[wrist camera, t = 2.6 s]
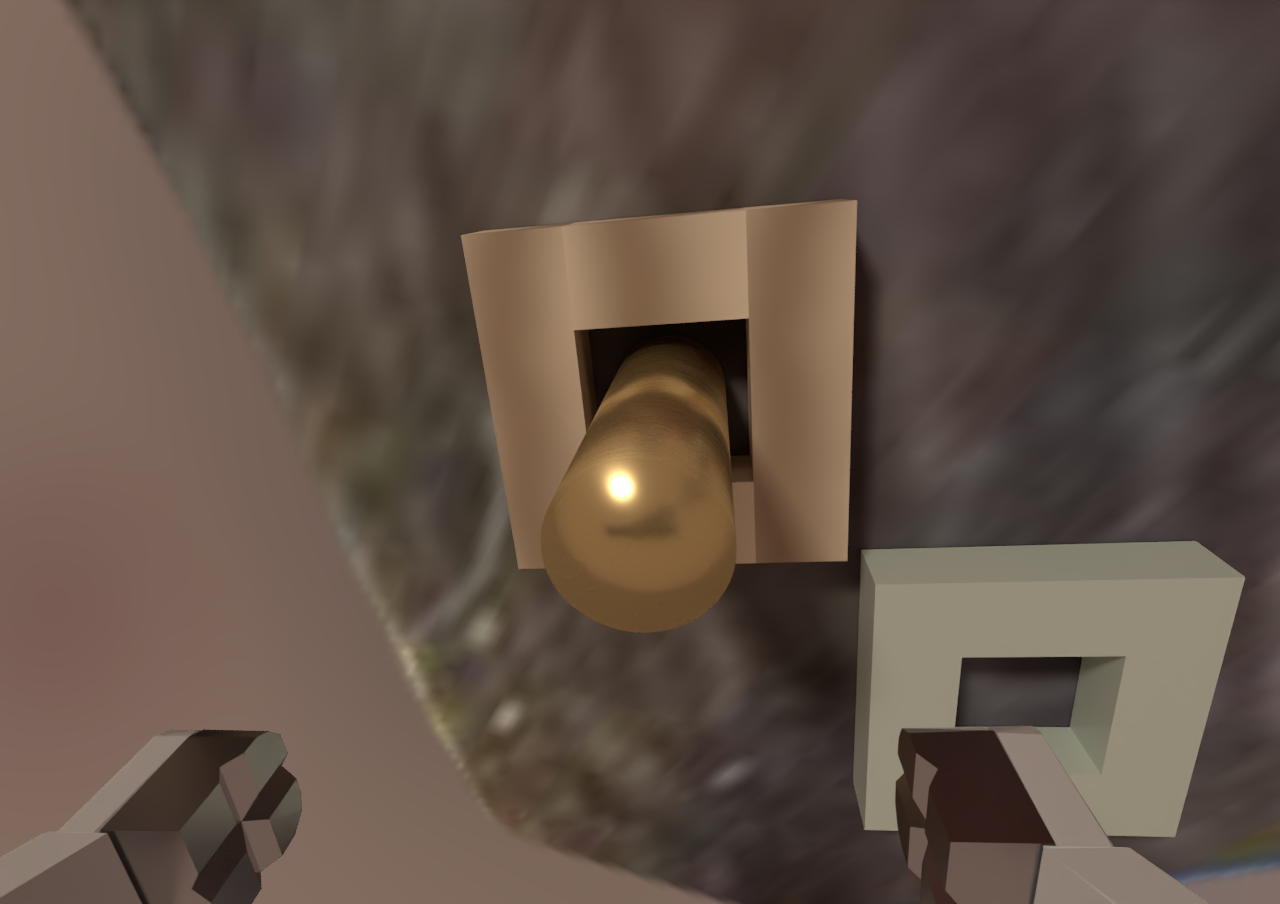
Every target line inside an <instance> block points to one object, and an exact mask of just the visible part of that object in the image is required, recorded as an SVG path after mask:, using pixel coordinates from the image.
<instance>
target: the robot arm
mask: <svg viewBox="0 0 1280 904" xmlns="http://www.w3.org/2000/svg"><path fill="white" fill-rule="evenodd" d="M287 754H288V752H287V750H286V747H285V745H284V743H283V740H282V738H281V735H280V734H277V733H274V732H270V731H242V730H168V731H166V732H163V733H161V734H159V735H156V736H154V737H153V738H152V739H151V741H149V742H148V743H147V744H146V745H145V747H143V748H142V749H141V750H140V751H139V752H138V753H137V754H136V755H135V756H134V757H133V758H132V759H131V760H130V761H129V762H128V763H127V764H126V765H125V766H124V767H123V768H122V769H121V770H120V771H119V772H118V773H117V774H116V775H115V776H114V777H113V778H112V779H111V780H110V781H109V782H108V783H107V784H106V785H105V786H104V787H102V789H100V790H99V792H97V793H96V794H95V795H94V796H93V797H92V798H91V799H90V800H89V801H88V802H87V803H86V804H85V805H84V806H83V807H82V808H81V809H80V810H79V811H78V812H77V813H76V814H75V815H74V816H73V817H72V818H71V819H70V820H69V821H68V822H67V823H66V824H65V825H64V826H63V827H62V828H61V829H60V830H59V831H58V832H45V833H43V834H41V835H40V836H38V837H36V838H34V839H32V840H31V841H29V842H27V843H25V844H23V845H22V846H20V847H18V848H16V849H14V850H13V851H11V852H9V853H7V854H5V855H4V856H2V857H0V904H252V903H253V901H254V899H255V898H256V896H257V895H258V893H259V892H260V890H261V871H263V870H264V869H265V868H267V867H268V866H269V865H271V864H272V863H273V862H275V861H276V860H277V859H279V858H280V857H281V856H282V855H283V854H284V852H285V850H286V849H287V847H288V845H289V844H290V842H291V840H292V839H293V837H294V835H295V833H296V829H297V826H298V822H299V819H300V815H301V811H302V800H301V791H300V787H299V784H298V781H297V779H296V778H295V777H294V776H293V775H292V774H291V773H289V772H288V771H287V770H286V769H285V768H284V767H282V764H283V762H284V760H285V758H286V756H287ZM898 756H899V759H900V762H901V765H902V768H903V771H904V774H903V775H902V776H901V777H900V778H899V779H898V780H897V781H896V791H895V806H896V816H897V827H898V831H899V836H900V841H901V845H902V849H903V852H904V856H905V859H906V863H907V866H908V868H909V869H910V870H912V871H913V872H914V873H915V874H916V875H917V876H918V877H919V878H920V879H921V885H920V898H919V904H1210V903H1209V902H1207V901H1206V900H1204V899H1203V898H1201V897H1200V896H1198V895H1197V894H1196V893H1194V892H1193V891H1191V890H1190V889H1188V888H1187V887H1185V886H1184V885H1183V884H1181V883H1180V882H1178V881H1177V880H1175V879H1174V878H1173V877H1171V876H1170V875H1168V874H1167V873H1165V872H1164V871H1162V870H1161V869H1160V868H1158V867H1157V866H1155V865H1154V864H1152V863H1151V862H1149V861H1148V860H1147V859H1145V858H1144V857H1142V856H1141V855H1139V854H1138V853H1136V852H1135V851H1134V850H1132V849H1131V848H1126V847H1114V846H1113V844H1112V843H1111V841H1110V840H1109V838H1108V836H1107V835H1106V833H1105V832H1104V830H1103V829H1102V827H1101V826H1100V824H1099V822H1098V821H1097V819H1096V818H1095V816H1094V815H1093V813H1092V811H1091V810H1090V808H1089V807H1088V805H1087V804H1086V802H1085V801H1084V799H1083V797H1082V796H1081V794H1080V793H1079V791H1078V790H1077V788H1076V786H1075V785H1074V783H1073V782H1072V780H1071V779H1070V777H1069V776H1068V774H1067V772H1066V771H1065V769H1064V768H1063V766H1062V765H1061V763H1060V761H1059V760H1058V758H1057V757H1056V755H1055V754H1054V752H1053V750H1052V749H1051V747H1050V746H1049V744H1048V743H1047V741H1046V740H1045V738H1044V736H1043V735H1042V733H1041V732H1040V731H1039V730H1037V729H1036V728H1034V727H1033V726H999V727H988V728H984V727H958V728H902V729H901V732H900V735H899V740H898Z"/></svg>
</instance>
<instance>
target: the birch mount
mask: <svg viewBox="0 0 1280 904" xmlns="http://www.w3.org/2000/svg"><path fill="white" fill-rule="evenodd" d="M856 224H857V201H856V200H846V199H837V200H825V201H814V202H803V203H791V204H780V205H769V206H757V207H746V208H735V209H723V210H712V211H701V212H689V213H678V214H667V215H655V216H644V217H633V218H621V219H610V220H599V221H587V222H576V223H565V224H553V225H542V226H531V227H519V228H508V229H497V230H486V231H480V232H475V233H470V234H465V235H461V238H462V244H463V249H464V255H465V261H466V267H467V273H468V278H469V284H470V290H471V296H472V302H473V307H474V313H475V319H476V325H477V330H478V336H479V342H480V348H481V354H482V359H483V365H484V371H485V377H486V382H487V388H488V394H489V400H490V406H491V411H492V417H493V423H494V429H495V434H496V440H497V446H498V452H499V458H500V463H501V469H502V475H503V481H504V487H505V492H506V498H507V504H508V510H509V515H510V521H511V527H512V533H513V539H514V544H515V550H516V556H517V562H518V567H519V569H537V568H545V565H544V562H543V558H542V553H541V542H540V541H541V529H542V524H543V519H544V517H545V514H546V512H547V509H548V507H549V505H550V503H551V501H552V499H553V497H554V495H555V493H556V491H557V489H558V487H559V485H560V483H561V481H562V479H563V477H564V475H565V474H566V472H567V470H568V468H569V466H570V464H571V462H572V460H573V458H574V456H575V454H576V452H577V450H578V448H579V446H580V444H581V442H582V440H583V438H584V436H585V434H586V432H587V430H588V428H589V426H590V424H591V422H592V421H593V419H594V417H595V415H596V413H597V411H598V409H597V400H596V391H595V382H594V374H593V365H592V356H591V347H590V338H589V330H588V329H601V328H616V327H630V326H645V325H660V324H674V323H689V322H703V321H718V320H733V319H746V348H747V381H748V414H749V447H750V455H738V456H730V459H731V474H732V488H733V503H734V517H735V531H736V546H737V551H736V563H735V564H743V563H784V562H825V561H847V558H848V521H849V484H850V447H851V410H852V373H853V335H854V298H855V261H856Z"/></svg>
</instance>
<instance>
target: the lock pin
mask: <svg viewBox="0 0 1280 904" xmlns="http://www.w3.org/2000/svg"><path fill="white" fill-rule="evenodd" d="M540 542H541V553H542V558H543V562H544V565H545V568H546V571H547V573H548V575H549V577H550V579H551V581H552V583H553V585H554V586H555V587H556V589H557V590H558V592H559V593H560V594H561V595H562V596H563V597H564V599H565V600H566V601H567V602H568V603H569V604H570V605H572V606H573V607H574V608H575V609H576V610H578V611H579V612H581V613H582V614H584V615H585V616H587V617H588V618H590V619H592V620H594V621H596V622H598V623H600V624H603V625H606V626H608V627H611V628H615V629H619V630H624V631H630V632H659V631H664V630H669V629H673V628H676V627H679V626H682V625H684V624H687V623H689V622H691V621H693V620H695V619H696V618H698V617H700V616H701V615H703V614H704V613H705V612H706V611H708V610H709V609H710V608H711V607H712V606H713V605H714V604H715V603H716V602H717V601H718V600H719V599H720V597H721V596H722V594H723V593H724V592H725V590H726V588H727V586H728V584H729V583H730V581H731V578H732V575H733V572H734V568H735V563H736V551H737V546H736V531H735V517H734V503H733V488H732V474H731V459H730V445H729V430H728V416H727V401H726V387H725V377H724V373H723V370H722V367H721V365H720V363H719V361H718V359H717V358H716V356H715V355H714V354H713V352H712V351H711V350H710V349H709V348H708V347H706V346H705V345H704V344H703V343H701V342H699V341H698V340H696V339H694V338H691V337H689V336H685V335H682V334H674V333H666V334H659V335H655V336H652V337H649V338H647V339H645V340H643V341H642V342H640V343H638V344H637V345H636V346H635V347H633V348H632V349H631V350H630V352H629V353H628V354H627V355H626V357H625V358H624V360H623V362H622V364H621V366H620V367H619V369H618V371H617V373H616V375H615V377H614V379H613V381H612V383H611V385H610V387H609V389H608V391H607V393H606V395H605V397H604V399H603V401H602V403H601V405H600V407H599V409H598V411H597V413H596V415H595V417H594V419H593V421H592V422H591V424H590V426H589V428H588V430H587V432H586V434H585V436H584V438H583V440H582V442H581V444H580V446H579V448H578V450H577V452H576V454H575V456H574V458H573V460H572V462H571V464H570V466H569V468H568V470H567V472H566V474H565V475H564V477H563V479H562V481H561V483H560V485H559V487H558V489H557V491H556V493H555V495H554V497H553V499H552V501H551V503H550V505H549V507H548V509H547V512H546V514H545V517H544V519H543V524H542V529H541V541H540Z"/></svg>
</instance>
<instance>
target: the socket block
mask: <svg viewBox="0 0 1280 904" xmlns="http://www.w3.org/2000/svg"><path fill="white" fill-rule="evenodd" d="M1244 580H1245V577H1244V576H1243V575H1242V574H1240V573H1239V572H1237V571H1236V570H1235V569H1233V568H1232V567H1231V566H1229V565H1228V564H1226V563H1225V562H1224V561H1222V560H1221V559H1220V558H1218V557H1217V556H1216V555H1214V554H1213V553H1211V552H1210V551H1209V550H1207V549H1206V548H1205V547H1203V546H1202V545H1201V544H1199V543H1198V542H1196V541H1177V542H1139V543H1101V544H1063V545H1025V546H987V547H949V548H911V549H872V550H861V570H860V598H859V627H858V655H857V684H856V712H855V741H854V769H853V783H854V787H855V792H856V796H857V800H858V804H859V808H860V813H861V817H862V821H863V825H864V829H865V830H892V831H898V827H897V816H896V806H895V791H896V781H897V780H898V779H899V778H900V777H901V776H902V775H903V774H904V771H903V768H902V765H901V762H900V759H899V756H898V740H899V735H900V732H901V729H902V728H958V727H955V721H956V711H957V702H958V692H959V682H960V672H961V663H962V658H967V657H1082V662H1081V667H1080V673H1079V679H1078V684H1077V690H1076V695H1075V701H1074V706H1073V712H1072V718H1071V723H1070V727H1034V728H1036V729H1037V730H1039V731H1040V732H1041V733H1042V735H1043V736H1044V738H1045V740H1046V741H1047V743H1048V744H1049V746H1050V747H1051V749H1052V750H1053V752H1054V754H1055V755H1056V757H1057V758H1058V760H1059V761H1060V763H1061V765H1062V766H1063V768H1064V769H1065V771H1066V772H1067V774H1068V776H1069V777H1070V779H1071V780H1072V782H1073V783H1074V785H1075V786H1076V788H1077V790H1078V791H1079V793H1080V794H1081V796H1082V797H1083V799H1084V801H1085V802H1086V804H1087V805H1088V807H1089V808H1090V810H1091V811H1092V813H1093V815H1094V816H1095V818H1096V819H1097V821H1098V822H1099V824H1100V826H1101V827H1102V829H1103V830H1104V832H1105V833H1106V835H1109V836H1153V837H1175V835H1176V831H1177V828H1178V824H1179V820H1180V817H1181V813H1182V809H1183V806H1184V802H1185V798H1186V794H1187V791H1188V787H1189V783H1190V780H1191V776H1192V772H1193V769H1194V765H1195V761H1196V757H1197V754H1198V750H1199V746H1200V743H1201V739H1202V735H1203V732H1204V728H1205V724H1206V721H1207V717H1208V713H1209V709H1210V706H1211V702H1212V698H1213V695H1214V691H1215V687H1216V684H1217V680H1218V676H1219V672H1220V669H1221V665H1222V661H1223V658H1224V654H1225V650H1226V647H1227V643H1228V639H1229V636H1230V632H1231V628H1232V624H1233V621H1234V617H1235V613H1236V610H1237V606H1238V602H1239V599H1240V595H1241V591H1242V587H1243V584H1244ZM984 728H988V727H984Z"/></svg>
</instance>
